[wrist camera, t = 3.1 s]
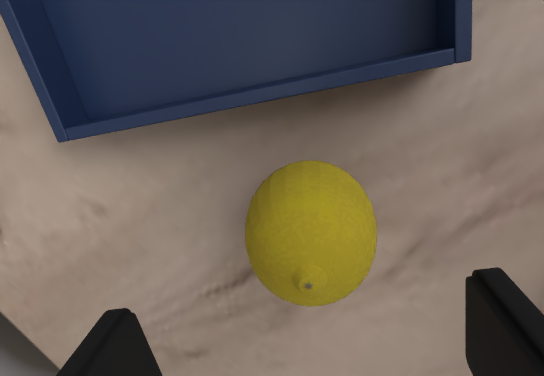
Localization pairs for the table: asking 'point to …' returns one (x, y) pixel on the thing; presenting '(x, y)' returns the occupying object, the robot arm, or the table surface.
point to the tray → (217, 53)
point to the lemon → (311, 233)
